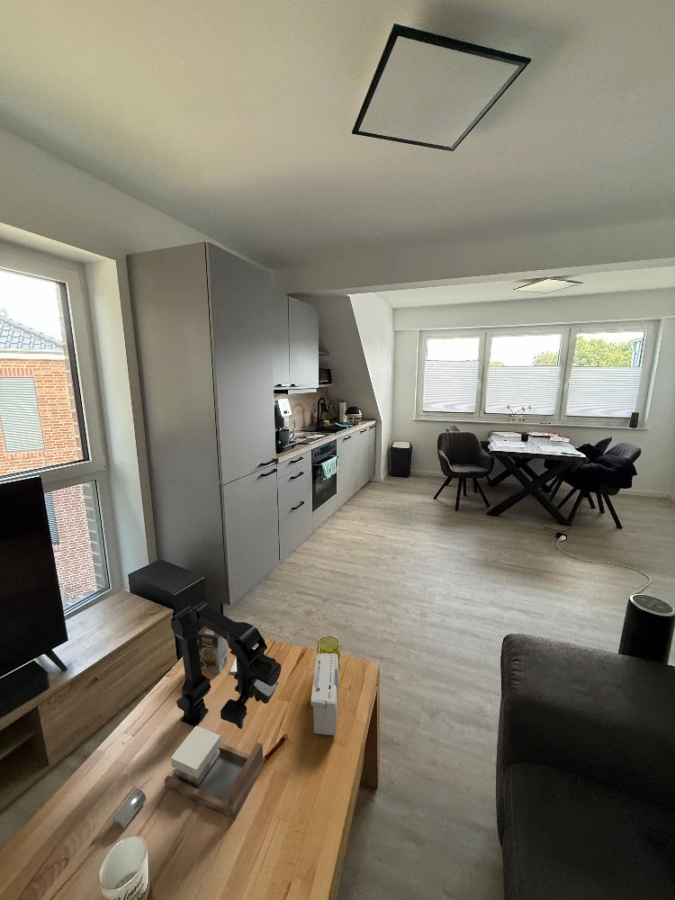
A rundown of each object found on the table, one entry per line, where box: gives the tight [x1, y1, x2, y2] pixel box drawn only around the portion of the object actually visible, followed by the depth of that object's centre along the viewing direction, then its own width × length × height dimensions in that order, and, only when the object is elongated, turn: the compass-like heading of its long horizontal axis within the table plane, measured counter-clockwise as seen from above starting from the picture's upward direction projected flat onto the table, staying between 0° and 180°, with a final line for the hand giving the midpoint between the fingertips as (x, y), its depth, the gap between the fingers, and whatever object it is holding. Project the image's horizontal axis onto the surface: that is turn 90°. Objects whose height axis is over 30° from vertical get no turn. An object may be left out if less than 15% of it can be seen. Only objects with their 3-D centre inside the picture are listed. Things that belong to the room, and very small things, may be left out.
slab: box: [170, 725, 222, 779], centre depth 103 cm, size 9×10×3 cm
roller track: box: [164, 741, 264, 822], centre depth 101 cm, size 23×14×8 cm, turn 70°
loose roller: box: [112, 788, 147, 831], centre depth 93 cm, size 4×6×4 cm, turn 160°
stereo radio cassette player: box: [310, 639, 340, 736], centre depth 121 cm, size 21×8×20 cm, turn 178°
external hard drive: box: [229, 647, 257, 675], centre depth 143 cm, size 2×8×12 cm
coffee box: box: [197, 625, 229, 674], centre depth 140 cm, size 9×6×16 cm
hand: (249, 714), depth 106 cm, fingers open, 9 cm apart
